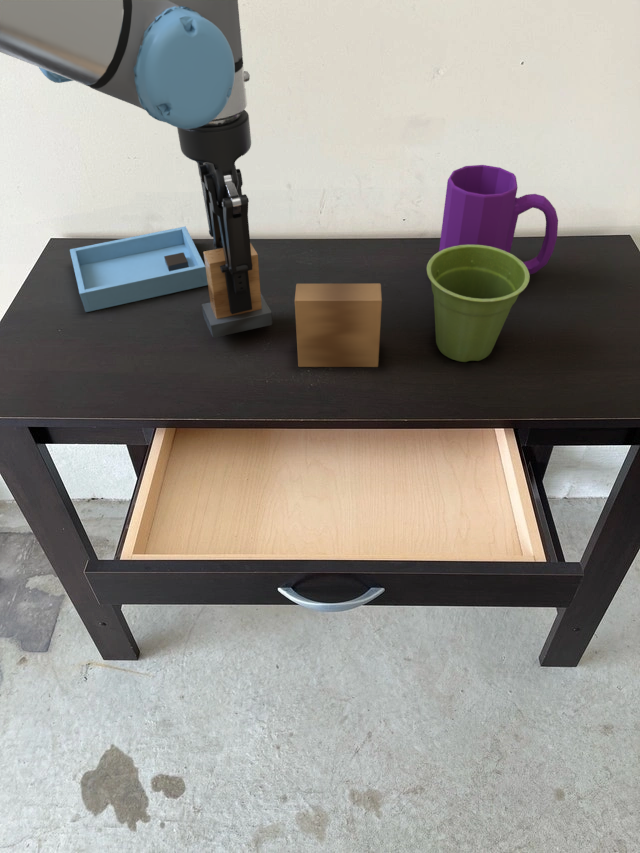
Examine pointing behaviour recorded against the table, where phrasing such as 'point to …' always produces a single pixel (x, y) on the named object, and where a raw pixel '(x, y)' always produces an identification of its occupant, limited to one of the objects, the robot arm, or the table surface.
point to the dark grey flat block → (176, 261)
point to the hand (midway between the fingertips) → (237, 302)
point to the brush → (219, 308)
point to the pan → (135, 268)
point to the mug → (492, 212)
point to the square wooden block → (338, 324)
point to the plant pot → (473, 297)
